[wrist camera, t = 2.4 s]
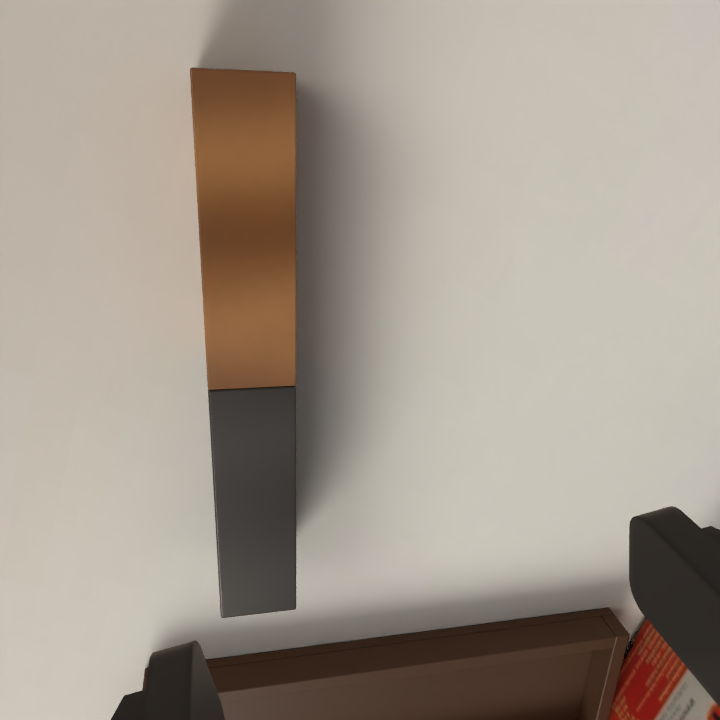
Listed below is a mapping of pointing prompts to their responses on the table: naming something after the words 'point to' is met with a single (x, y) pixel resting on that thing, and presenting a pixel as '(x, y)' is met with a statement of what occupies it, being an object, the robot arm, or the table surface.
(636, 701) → the medicine box
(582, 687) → the tool tray
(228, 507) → the whetstone
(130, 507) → the table surface
